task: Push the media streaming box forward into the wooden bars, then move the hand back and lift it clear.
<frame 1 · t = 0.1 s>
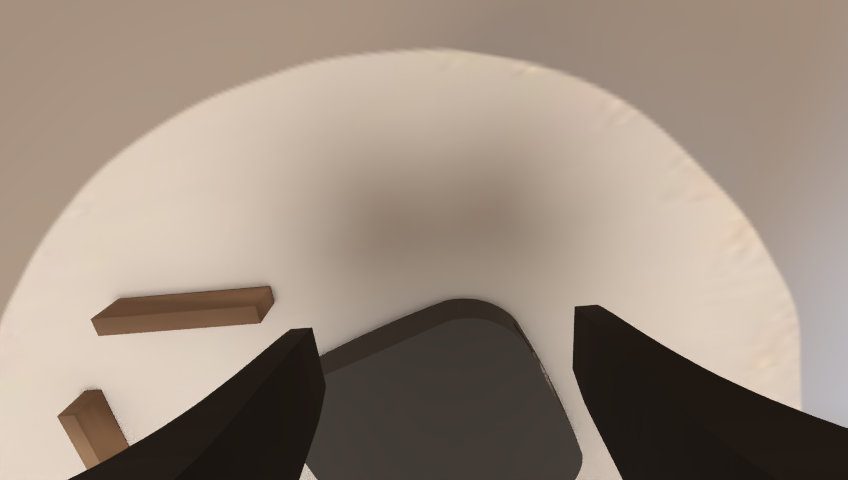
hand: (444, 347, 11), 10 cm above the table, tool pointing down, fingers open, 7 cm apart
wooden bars: (215, 433, 26), on the table
media streaming box: (435, 411, 26), on the table
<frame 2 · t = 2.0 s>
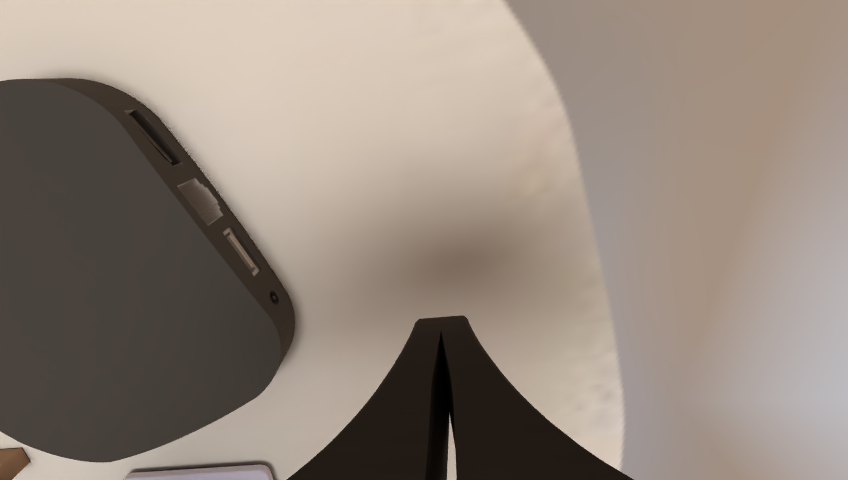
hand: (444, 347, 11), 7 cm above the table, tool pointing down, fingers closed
media streaming box: (108, 278, 19), on the table
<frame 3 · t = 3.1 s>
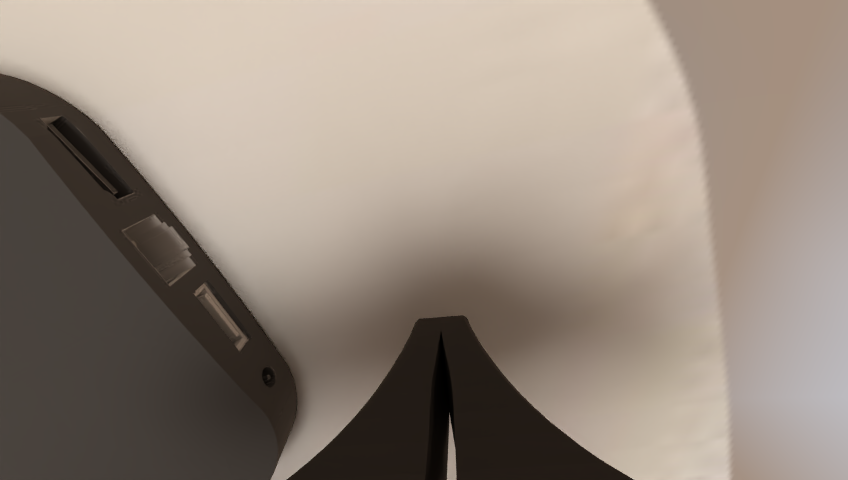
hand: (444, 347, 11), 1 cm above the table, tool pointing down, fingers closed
media streaming box: (47, 341, 14), on the table
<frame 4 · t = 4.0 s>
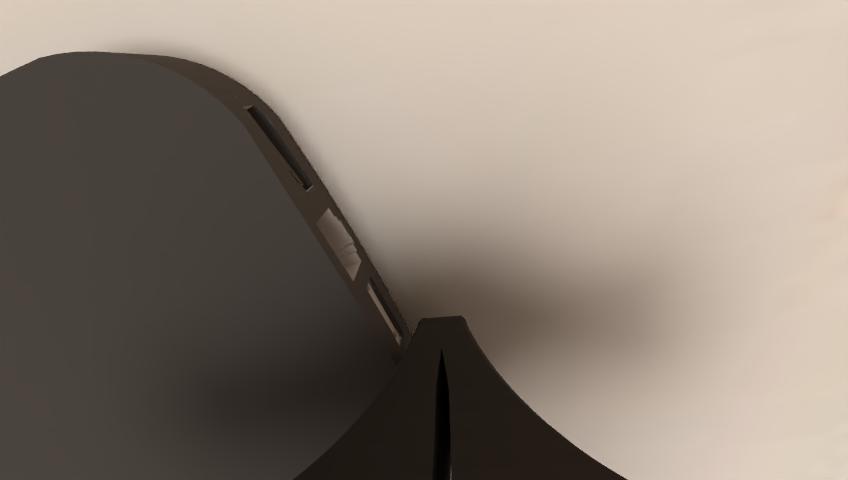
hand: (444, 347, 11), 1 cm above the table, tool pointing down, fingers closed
media streaming box: (176, 334, 14), on the table, touching gripper
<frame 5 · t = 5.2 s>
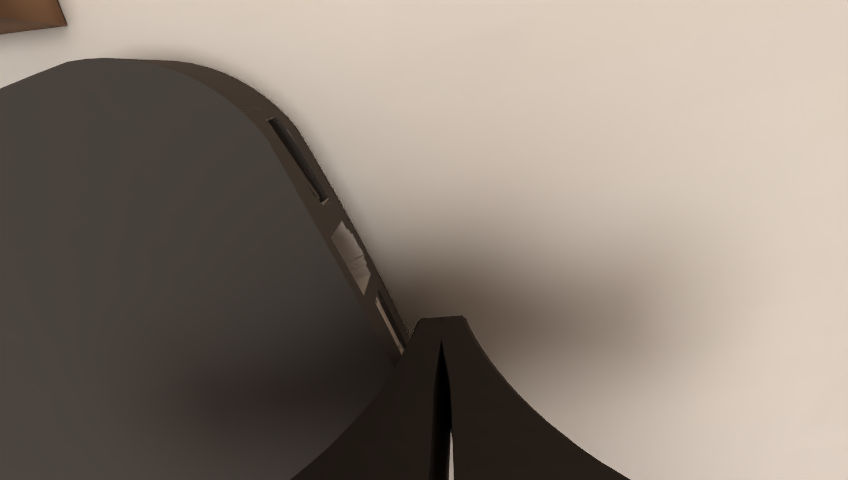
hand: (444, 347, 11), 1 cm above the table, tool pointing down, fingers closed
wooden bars: (10, 355, 14), on the table
media streaming box: (178, 334, 14), on the table, touching gripper
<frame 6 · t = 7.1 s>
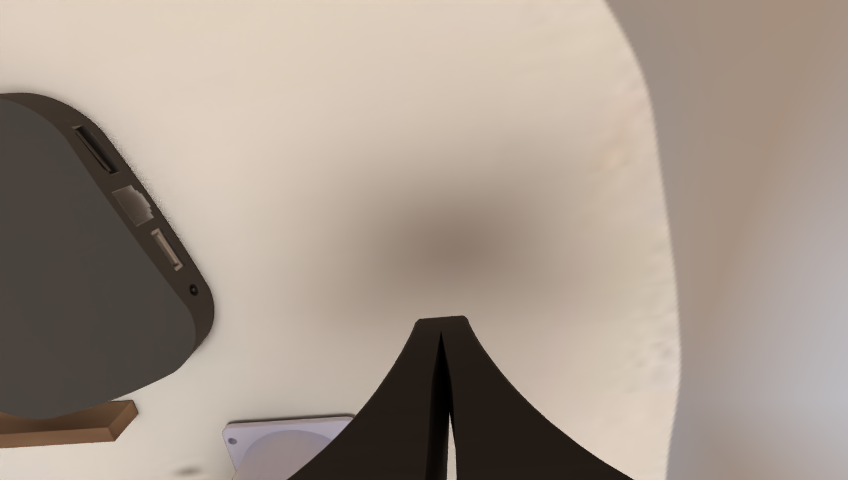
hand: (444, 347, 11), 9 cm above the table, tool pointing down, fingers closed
media streaming box: (54, 260, 22), on the table
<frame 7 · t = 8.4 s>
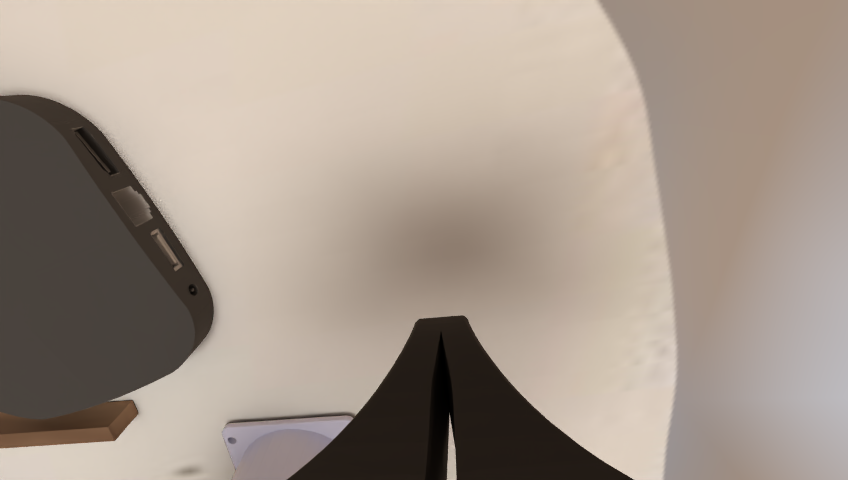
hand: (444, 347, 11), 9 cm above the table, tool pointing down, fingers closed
media streaming box: (54, 261, 22), on the table
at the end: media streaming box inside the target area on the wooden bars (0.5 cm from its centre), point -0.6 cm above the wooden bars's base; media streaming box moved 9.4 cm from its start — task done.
